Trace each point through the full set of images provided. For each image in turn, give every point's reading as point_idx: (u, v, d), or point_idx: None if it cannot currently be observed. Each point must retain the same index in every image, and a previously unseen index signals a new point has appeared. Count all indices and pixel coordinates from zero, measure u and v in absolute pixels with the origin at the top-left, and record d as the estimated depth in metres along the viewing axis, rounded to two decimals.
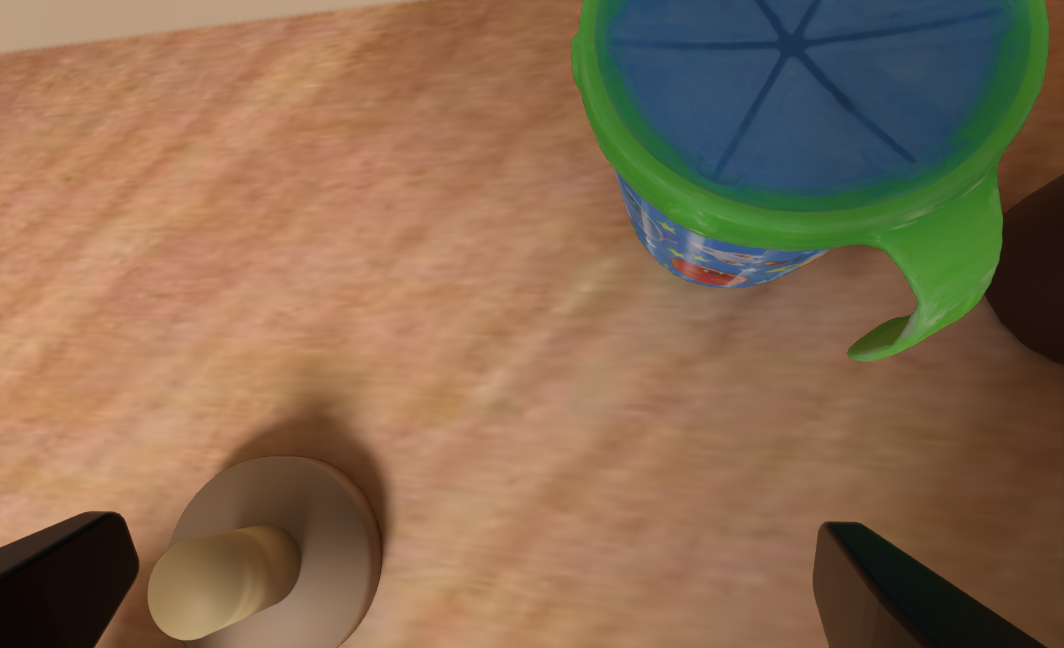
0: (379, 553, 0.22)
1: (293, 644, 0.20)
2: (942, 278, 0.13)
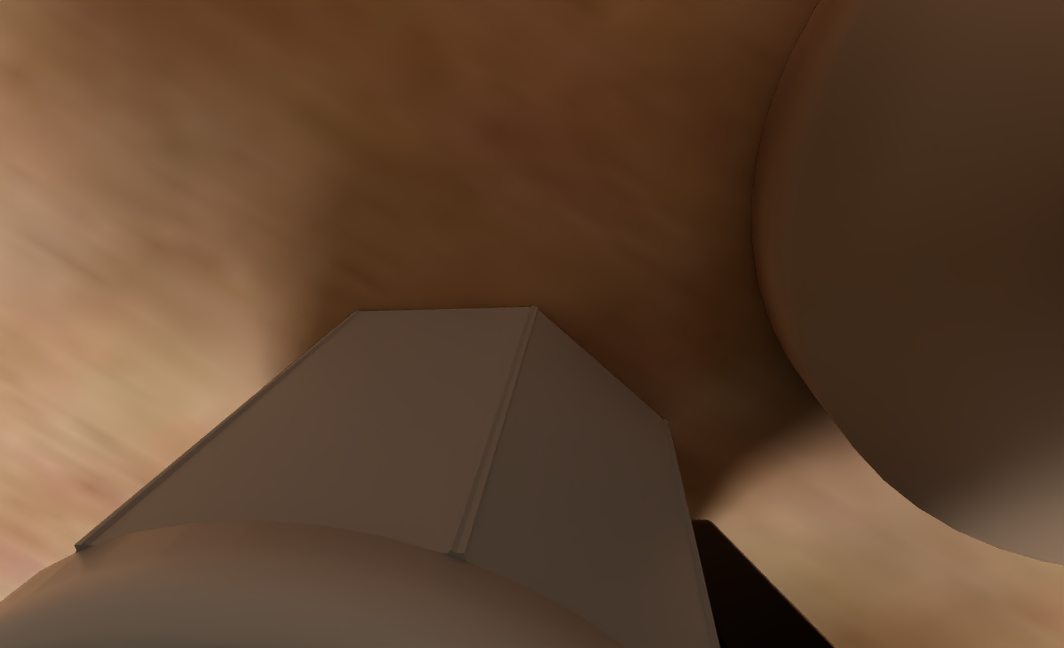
0: None
1: None
2: None
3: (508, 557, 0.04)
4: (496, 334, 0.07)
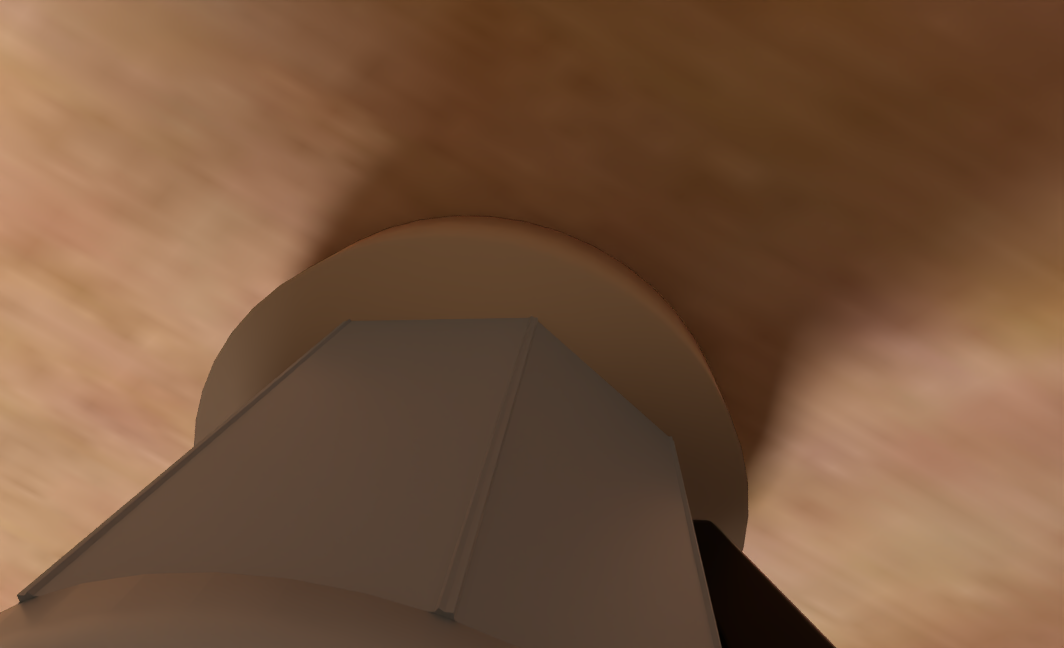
0: None
1: None
2: None
3: (504, 610, 0.03)
4: (493, 348, 0.06)
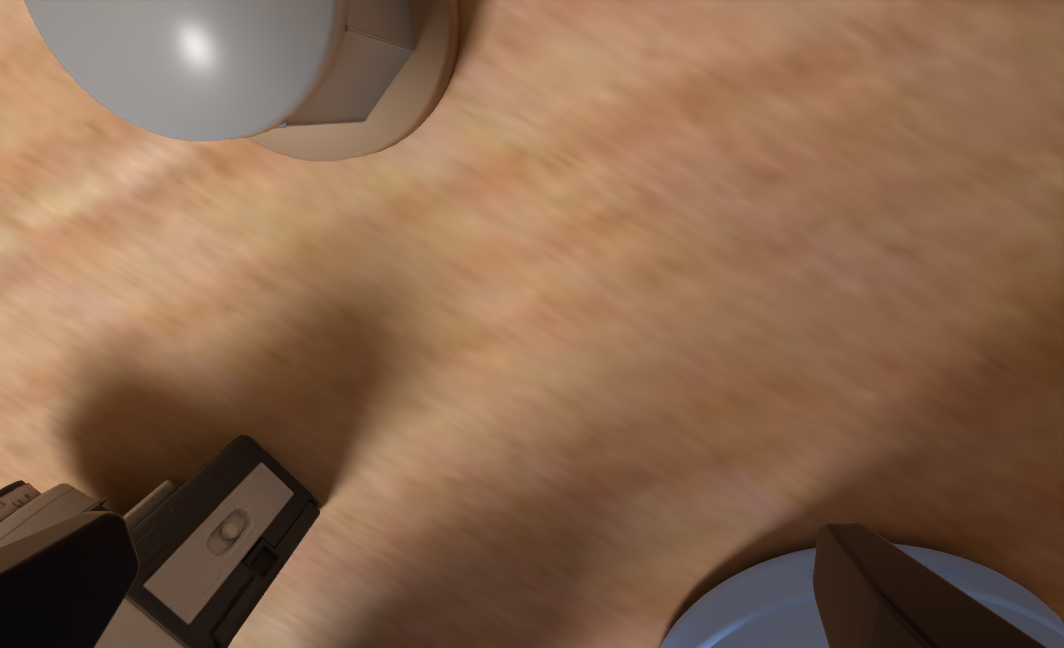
0: (451, 67, 0.17)
1: (323, 126, 0.16)
2: None
3: (343, 45, 0.12)
4: (401, 31, 0.14)
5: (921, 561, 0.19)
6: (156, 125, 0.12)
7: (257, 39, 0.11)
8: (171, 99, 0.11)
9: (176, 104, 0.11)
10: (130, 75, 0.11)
